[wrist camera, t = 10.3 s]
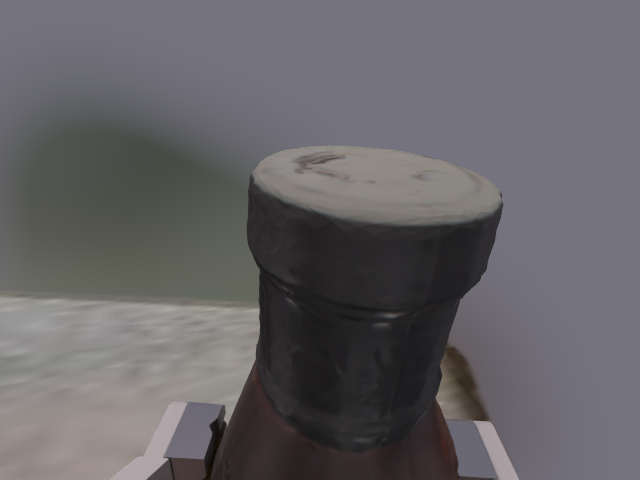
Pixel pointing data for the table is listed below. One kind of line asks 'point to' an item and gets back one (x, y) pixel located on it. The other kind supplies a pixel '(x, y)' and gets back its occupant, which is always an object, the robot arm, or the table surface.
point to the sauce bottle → (355, 313)
